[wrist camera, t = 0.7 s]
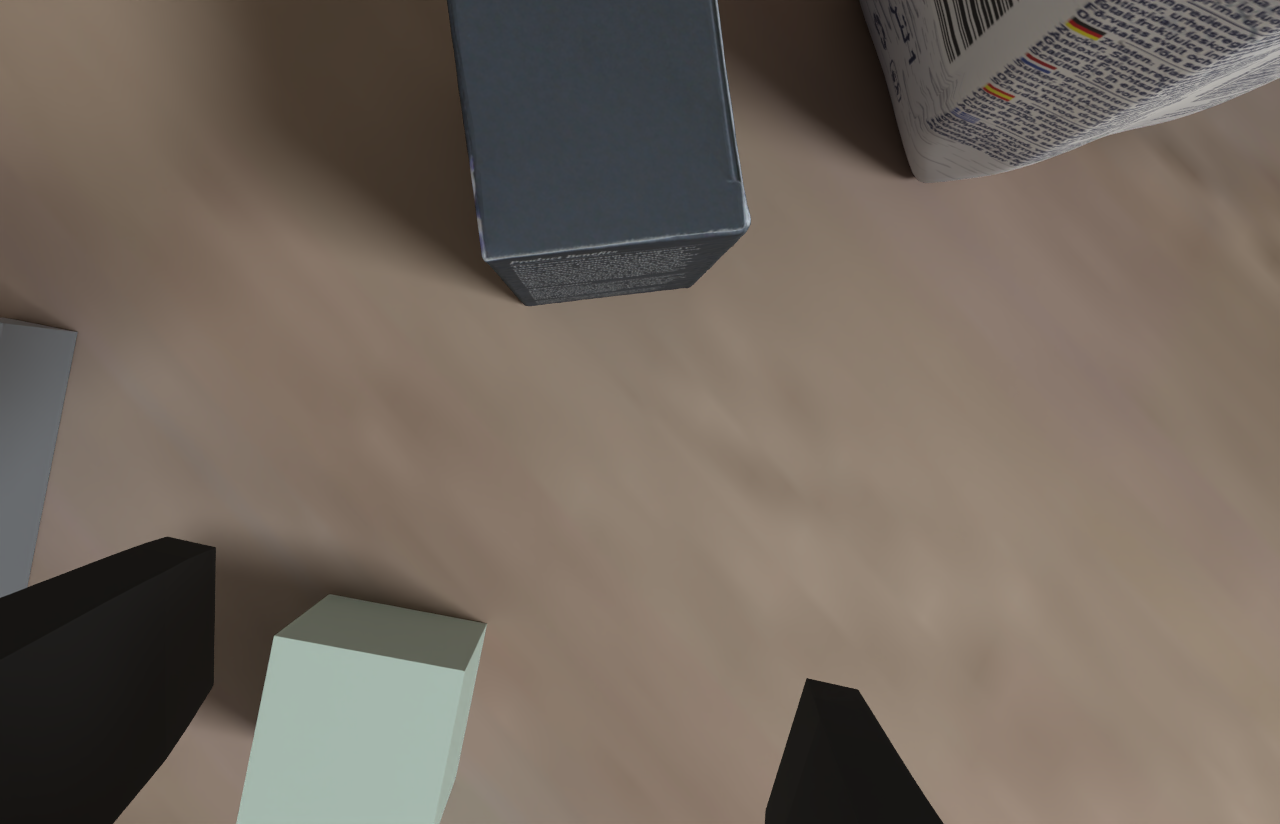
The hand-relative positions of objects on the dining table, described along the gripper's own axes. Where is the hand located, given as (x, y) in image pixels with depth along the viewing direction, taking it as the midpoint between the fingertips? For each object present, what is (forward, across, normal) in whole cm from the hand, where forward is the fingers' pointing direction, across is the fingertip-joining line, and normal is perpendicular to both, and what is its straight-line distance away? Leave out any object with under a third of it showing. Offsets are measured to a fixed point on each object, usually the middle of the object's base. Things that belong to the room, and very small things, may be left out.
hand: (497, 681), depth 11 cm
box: (+20, +2, -3) cm, 21 cm away
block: (+14, +5, +12) cm, 20 cm away
